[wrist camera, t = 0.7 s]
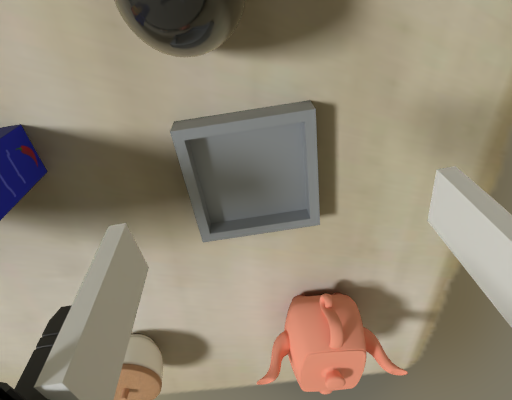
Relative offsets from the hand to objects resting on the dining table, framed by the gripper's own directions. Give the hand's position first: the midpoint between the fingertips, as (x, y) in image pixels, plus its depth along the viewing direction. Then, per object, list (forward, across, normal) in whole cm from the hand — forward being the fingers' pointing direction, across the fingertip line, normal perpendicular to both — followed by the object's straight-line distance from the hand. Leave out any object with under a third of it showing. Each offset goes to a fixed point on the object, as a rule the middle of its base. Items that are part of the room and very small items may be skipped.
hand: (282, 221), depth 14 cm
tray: (+25, -2, -12) cm, 27 cm away
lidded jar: (+24, -28, -42) cm, 56 cm away
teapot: (+24, +4, -41) cm, 48 cm away
